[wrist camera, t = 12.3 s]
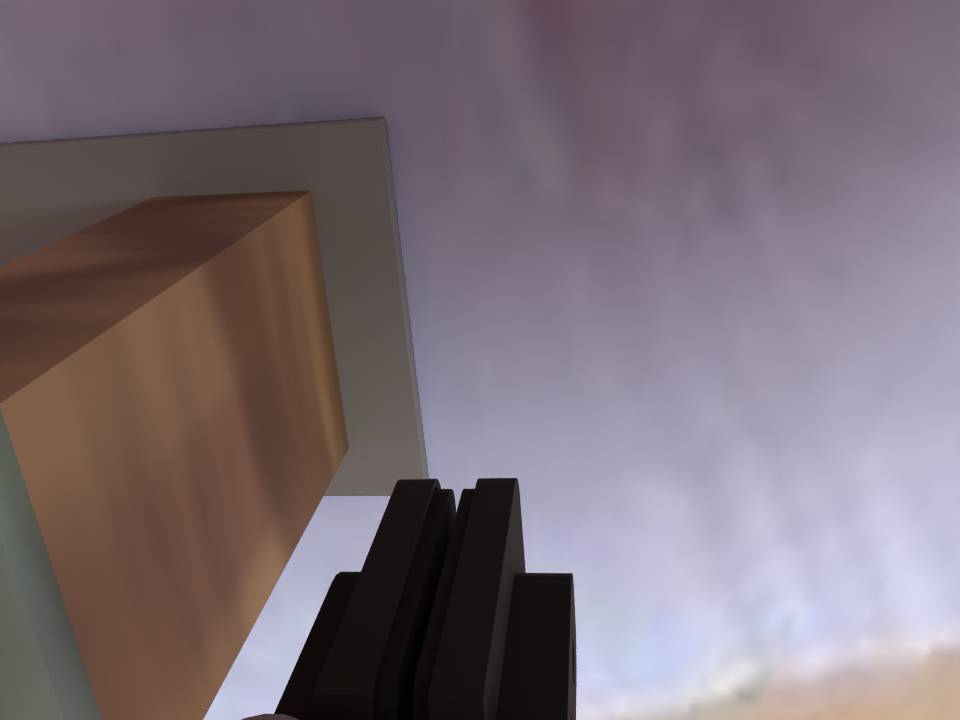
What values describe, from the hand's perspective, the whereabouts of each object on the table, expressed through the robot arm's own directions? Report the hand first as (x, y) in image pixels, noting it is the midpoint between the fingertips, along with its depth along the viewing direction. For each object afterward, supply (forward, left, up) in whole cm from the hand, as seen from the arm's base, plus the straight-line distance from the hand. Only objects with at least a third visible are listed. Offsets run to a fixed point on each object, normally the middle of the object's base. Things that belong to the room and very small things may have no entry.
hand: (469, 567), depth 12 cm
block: (+7, 0, -10) cm, 12 cm away
